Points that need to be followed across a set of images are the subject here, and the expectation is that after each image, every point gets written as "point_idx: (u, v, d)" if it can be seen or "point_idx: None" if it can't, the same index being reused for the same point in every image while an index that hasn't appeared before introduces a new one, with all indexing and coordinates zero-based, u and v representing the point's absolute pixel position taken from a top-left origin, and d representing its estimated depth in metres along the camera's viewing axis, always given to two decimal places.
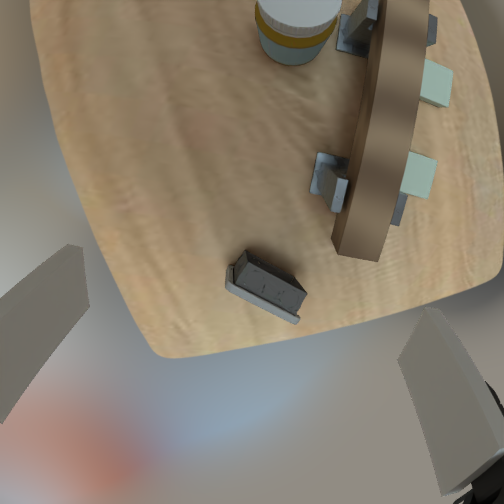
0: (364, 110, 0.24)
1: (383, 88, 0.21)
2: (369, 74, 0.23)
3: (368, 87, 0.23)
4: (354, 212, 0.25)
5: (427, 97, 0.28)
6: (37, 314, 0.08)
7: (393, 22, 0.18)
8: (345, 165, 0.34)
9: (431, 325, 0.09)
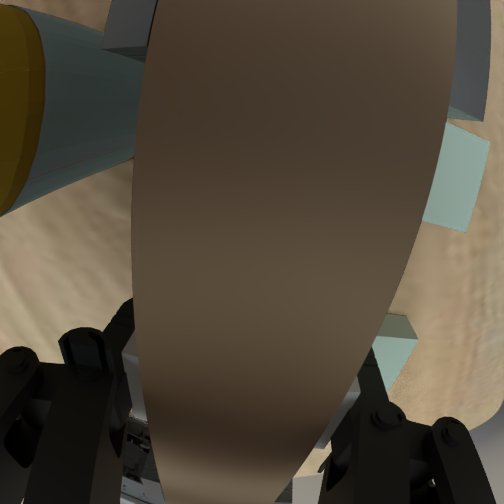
0: None
1: (171, 401, 0.06)
2: None
3: None
4: None
5: None
6: None
7: (204, 34, 0.03)
8: None
9: None
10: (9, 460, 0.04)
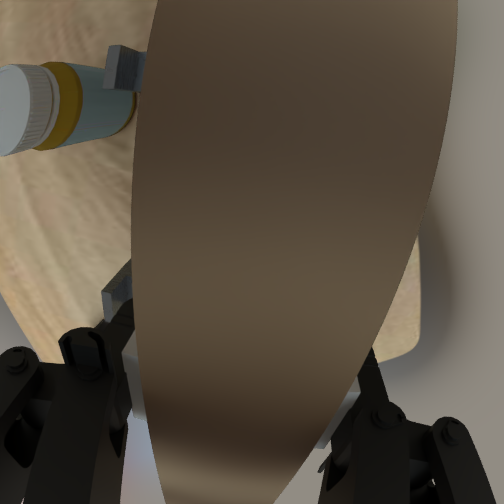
0: None
1: (171, 402, 0.06)
2: None
3: None
4: None
5: None
6: None
7: (204, 37, 0.03)
8: None
9: None
10: (9, 460, 0.04)
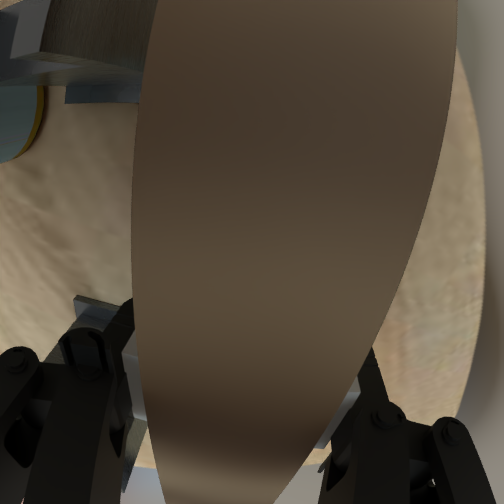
0: None
1: (171, 403, 0.06)
2: None
3: None
4: None
5: None
6: None
7: (203, 38, 0.03)
8: None
9: None
10: (9, 460, 0.04)
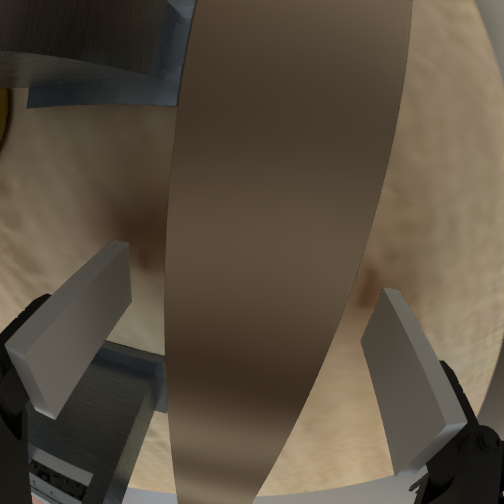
0: None
1: (188, 346, 0.07)
2: None
3: None
4: (184, 489, 0.12)
5: None
6: (91, 307, 0.09)
7: (225, 59, 0.05)
8: (96, 354, 0.16)
9: (388, 304, 0.10)
10: None
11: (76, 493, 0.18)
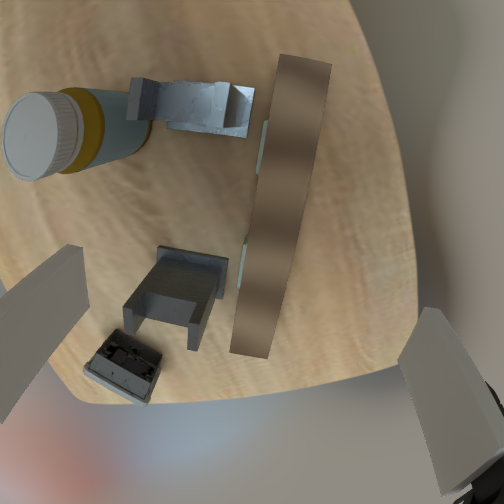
0: None
1: (260, 214, 0.25)
2: None
3: None
4: (238, 322, 0.29)
5: None
6: (37, 314, 0.08)
7: (275, 135, 0.22)
8: (186, 260, 0.34)
9: (432, 325, 0.09)
10: None
11: None
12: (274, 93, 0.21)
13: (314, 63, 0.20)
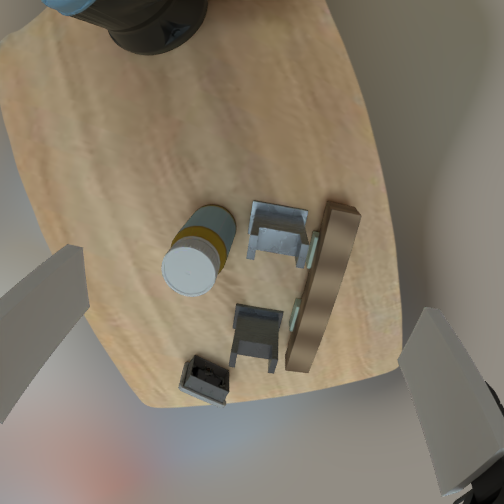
0: (303, 300, 0.46)
1: (312, 298, 0.43)
2: (309, 279, 0.45)
3: (307, 288, 0.45)
4: (293, 353, 0.48)
5: None
6: (37, 314, 0.08)
7: (325, 257, 0.40)
8: (256, 313, 0.52)
9: (432, 325, 0.09)
10: None
11: None
12: (326, 234, 0.39)
13: (351, 215, 0.38)
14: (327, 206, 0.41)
